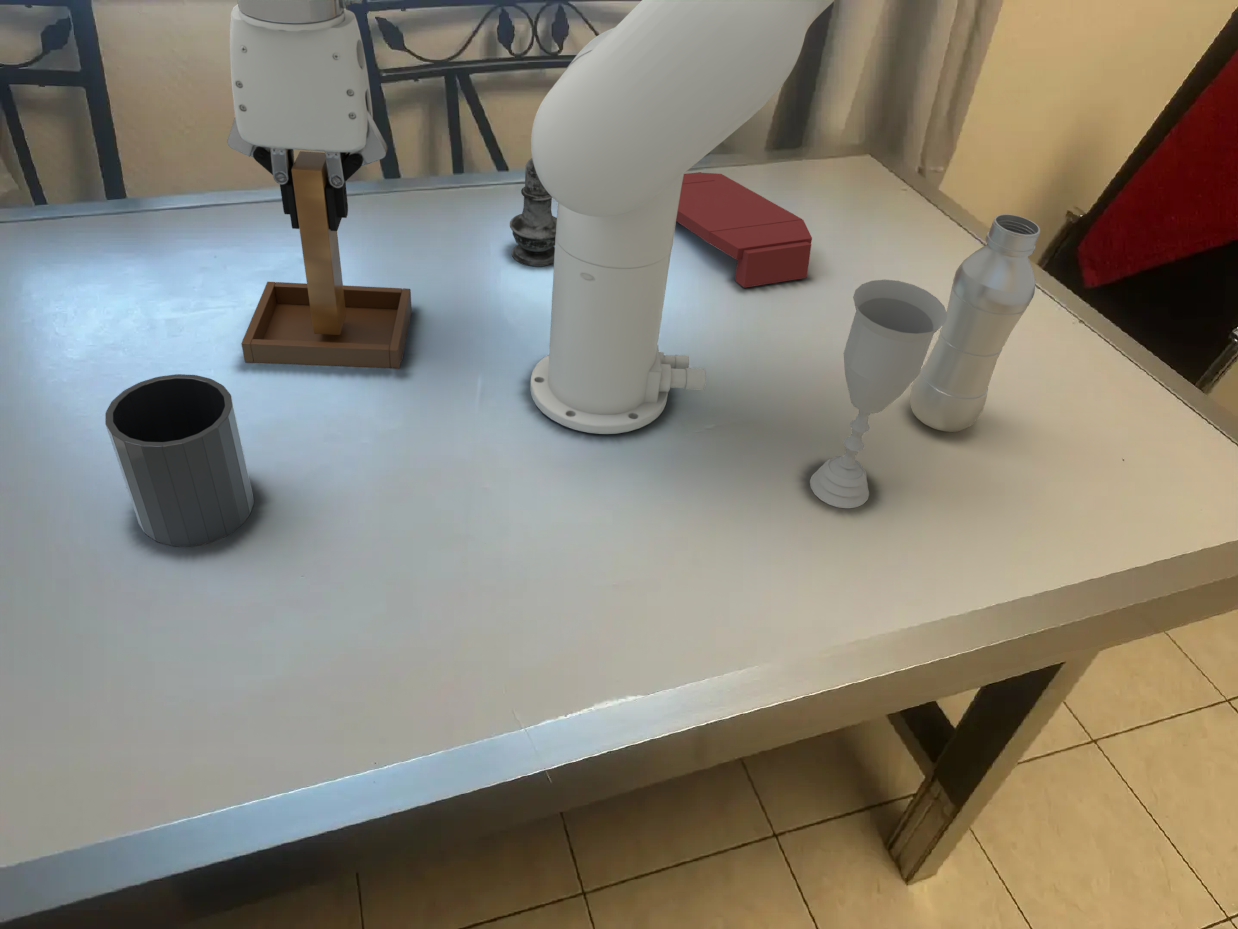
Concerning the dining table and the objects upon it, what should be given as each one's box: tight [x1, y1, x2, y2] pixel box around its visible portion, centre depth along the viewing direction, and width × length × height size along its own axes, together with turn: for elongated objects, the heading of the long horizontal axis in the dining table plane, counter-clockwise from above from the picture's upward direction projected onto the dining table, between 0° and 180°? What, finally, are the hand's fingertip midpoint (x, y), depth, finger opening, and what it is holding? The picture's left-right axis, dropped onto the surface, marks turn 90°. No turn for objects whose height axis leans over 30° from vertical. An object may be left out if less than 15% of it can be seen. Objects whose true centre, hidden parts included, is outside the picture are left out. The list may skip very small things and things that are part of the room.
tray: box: [240, 281, 413, 370], centre depth 90 cm, size 14×11×3 cm
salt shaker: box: [509, 157, 557, 267], centre depth 102 cm, size 6×6×12 cm
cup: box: [104, 373, 255, 547], centre depth 69 cm, size 8×8×10 cm
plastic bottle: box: [908, 213, 1041, 433], centre depth 83 cm, size 6×7×20 cm
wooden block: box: [291, 150, 346, 335], centre depth 84 cm, size 2×4×16 cm, turn 3°
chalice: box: [809, 279, 947, 509], centre depth 75 cm, size 7×7×18 cm
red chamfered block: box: [676, 171, 813, 289], centre depth 114 cm, size 12×5×25 cm
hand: (317, 220), depth 82 cm, fingers closed on wooden block, 2 cm apart
